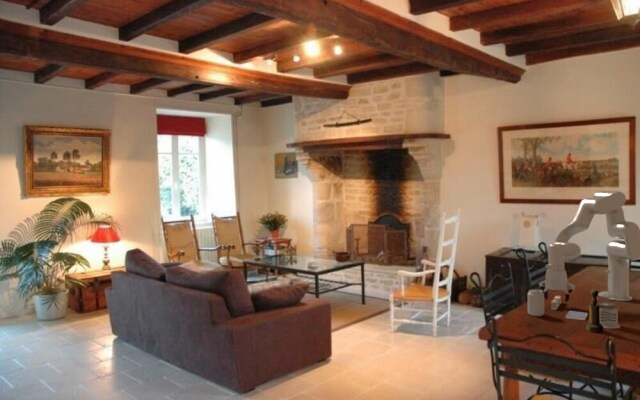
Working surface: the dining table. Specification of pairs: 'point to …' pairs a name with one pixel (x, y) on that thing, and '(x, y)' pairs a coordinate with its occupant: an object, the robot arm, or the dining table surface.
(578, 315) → the tile
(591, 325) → the pepper mill
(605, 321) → the french press
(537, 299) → the can
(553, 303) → the cream wooden plank
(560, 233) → the robot arm
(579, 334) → the dining table surface
